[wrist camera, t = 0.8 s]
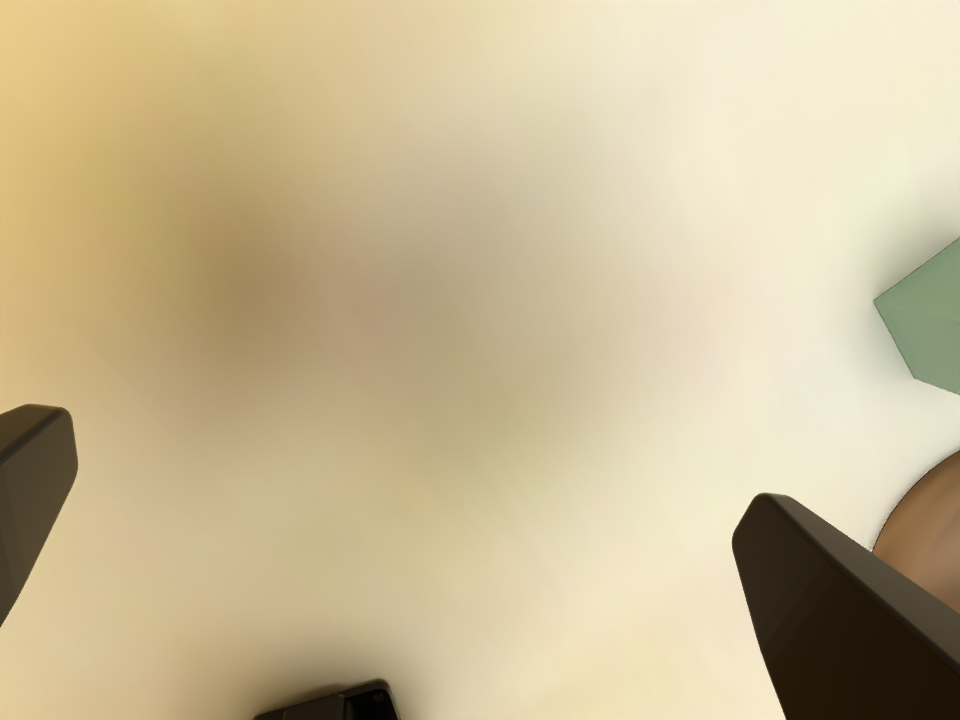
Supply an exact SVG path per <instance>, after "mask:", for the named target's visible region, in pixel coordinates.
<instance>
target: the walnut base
mask: <svg viewBox="0 0 960 720" xmlns="http://www.w3.org/2000/svg"><path fill="white" fill-rule="evenodd" d="M873 554H874V555H876V556H877V557H878V558H880V559H881V560H883V561H884V562H886V563H887V564H889V565H890V566H891V567H893V568H894V569H896V570H897V571H899V572H900V573H902V574H903V575H904V576H906V577H907V578H909V579H910V580H912V581H913V582H915V583H916V584H917V585H919V586H920V587H922V588H923V589H925V590H926V591H928V592H929V593H931V594H932V595H933V596H935V597H936V598H938V599H939V600H941V601H942V602H944V603H945V604H946V605H948V606H949V607H951V608H952V609H954V610H955V611H957V612H958V613H959V614H960V451H959V452H957V453H956V454H954V455H952V456H951V457H949V458H947V459H946V460H944V461H943V462H942V463H940V464H939V465H938V466H936V467H935V468H934V469H932V470H931V471H930V472H929V473H927V474H926V475H925V476H924V477H923V478H922V479H921V480H920V481H919V482H918V483H917V484H916V485H915V486H914V487H913V488H912V489H911V490H910V491H909V492H908V493H907V494H906V496H905V497H904V498H903V499H902V500H901V502H900V503H899V504H898V506H897V507H896V508H895V510H894V511H893V513H892V514H891V515H890V517H889V519H888V521H887V522H886V524H885V526H884V528H883V529H882V531H881V533H880V535H879V538H878V540H877V542H876V545H875V547H874V550H873Z"/></svg>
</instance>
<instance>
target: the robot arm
mask: <svg viewBox="0 0 960 720" xmlns="http://www.w3.org/2000/svg"><path fill="white" fill-rule="evenodd" d="M77 470H78V457H77V450H76V443H75V436H74V429H73V422H72V418H71V415H70V413H69V411H67V410H66V409H64V408H62V407H55V406H47V405H39V404H25V405H23V406H20V407H17V408H15V409H12V410H10V411H8V412H5V413H3V414H0V627H1V625H2V624H3V622H4V620H5V619H6V617H7V615H8V614H9V612H10V610H11V609H12V607H13V605H14V604H15V602H16V600H17V598H18V596H19V594H20V593H21V591H22V589H23V587H24V585H25V583H26V581H27V579H28V577H29V575H30V573H31V571H32V569H33V567H34V564H35V562H36V560H37V558H38V556H39V554H40V552H41V550H42V548H43V546H44V544H45V542H46V540H47V537H48V535H49V533H50V531H51V529H52V527H53V525H54V523H55V521H56V519H57V517H58V515H59V513H60V510H61V508H62V506H63V504H64V502H65V500H66V498H67V496H68V494H69V492H70V490H71V488H72V485H73V483H74V481H75V478H76V475H77ZM732 549H733V554H734V557H735V561H736V565H737V568H738V572H739V576H740V579H741V583H742V586H743V590H744V594H745V597H746V601H747V605H748V608H749V612H750V616H751V619H752V623H753V627H754V630H755V634H756V637H757V640H758V644H759V647H760V650H761V653H762V656H763V659H764V662H765V665H766V668H767V670H768V673H769V676H770V678H771V681H772V684H773V686H774V689H775V692H776V694H777V697H778V699H779V702H780V705H781V707H782V710H783V713H784V715H785V718H786V720H960V614H959V613H958V612H957V611H955V610H954V609H952V608H951V607H949V606H948V605H946V604H945V603H944V602H942V601H941V600H939V599H938V598H936V597H935V596H933V595H932V594H931V593H929V592H928V591H926V590H925V589H923V588H922V587H920V586H919V585H917V584H916V583H915V582H913V581H912V580H910V579H909V578H907V577H906V576H904V575H903V574H902V573H900V572H899V571H897V570H896V569H894V568H893V567H891V566H890V565H889V564H887V563H886V562H884V561H883V560H881V559H880V558H878V557H877V556H876V555H874V554H873V553H871V552H870V551H868V550H867V549H865V548H864V547H862V546H861V545H860V544H858V543H857V542H855V541H854V540H852V539H851V538H849V537H848V536H847V535H845V534H844V533H842V532H841V531H839V530H838V529H836V528H835V527H834V526H832V525H831V524H829V523H828V522H826V521H825V520H823V519H822V518H821V517H819V516H818V515H816V514H815V513H813V512H812V511H810V510H809V509H808V508H806V507H805V506H803V505H802V504H800V503H799V502H797V501H796V500H794V499H793V498H791V497H789V496H787V495H781V494H773V493H760V494H758V495H757V496H755V497H754V499H753V500H752V502H751V503H750V505H749V507H748V508H747V510H746V512H745V513H744V515H743V517H742V519H741V520H740V522H739V524H738V525H737V527H736V529H735V531H734V533H733V537H732ZM377 693H382V695H376V694H377ZM253 720H401V719H400V716H399V713H398V710H397V707H396V705H395V702H394V699H393V696H392V693H391V690H390V687H389V686H388V685H387V684H386V683H384V682H375V683H372V684H368V685H365V686H361V687H358V688H354V689H351V690H347V691H344V692H340V693H337V694H333V695H330V696H326V697H323V698H319V699H316V700H312V701H308V702H305V703H301V704H298V705H294V706H291V707H287V708H284V709H280V710H277V711H273V712H270V713H266V714H263V715H259V716H257V717H255V718H254V719H253Z"/></svg>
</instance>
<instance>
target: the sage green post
mask: <svg viewBox="0 0 960 720" xmlns="http://www.w3.org/2000/svg"><path fill="white" fill-rule="evenodd" d="M873 302H874V303H875V305H876V307H877V309H878V311H879V313H880V315H881V317H882V318H883V320H884V322H885V324H886V326H887V328H888V330H889V332H890V333H891V335H892V337H893V339H894V341H895V343H896V345H897V347H898V348H899V350H900V352H901V354H902V356H903V358H904V360H905V361H906V363H907V365H908V367H909V369H910V371H911V373H912V375H913V376H914V378H915V379H917V380H920V381H923V382H925V383H928V384H931V385H934V386H936V387H939V388H942V389H945V390H947V391H950V392H953V393H955V394H958V395H960V238H959V239H958V240H956V241H955V242H953V243H952V244H951V245H949V246H948V247H947V248H945V249H944V250H943V251H941V252H940V253H938V254H937V255H936V256H934V257H933V258H932V259H930V260H929V261H927V262H926V263H925V264H923V265H922V266H921V267H919V268H918V269H917V270H915V271H914V272H912V273H911V274H910V275H908V276H907V277H906V278H904V279H903V280H902V281H900V282H899V283H897V284H896V285H895V286H893V287H892V288H891V289H889V290H888V291H887V292H885V293H884V294H882V295H881V296H880V297H878V298H877V299H876V300H874V301H873Z"/></svg>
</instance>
